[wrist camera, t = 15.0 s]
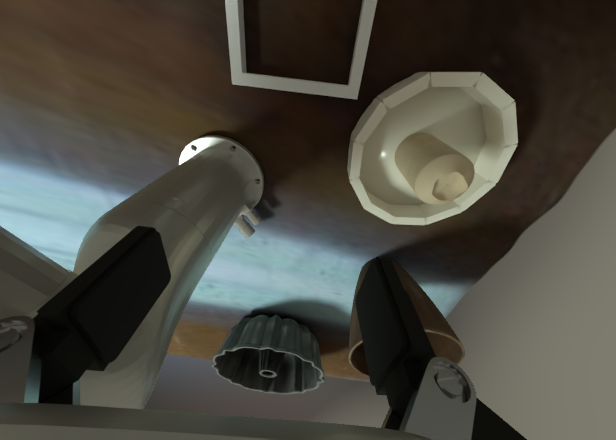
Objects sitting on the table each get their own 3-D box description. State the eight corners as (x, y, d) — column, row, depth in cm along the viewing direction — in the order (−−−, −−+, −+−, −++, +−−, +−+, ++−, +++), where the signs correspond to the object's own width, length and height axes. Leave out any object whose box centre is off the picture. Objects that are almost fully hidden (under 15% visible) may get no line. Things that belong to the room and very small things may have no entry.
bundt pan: (295, 363, 69) (291, 403, 61) (215, 337, 63) (199, 377, 55) (344, 327, 55) (347, 372, 47) (248, 288, 49) (232, 332, 41)
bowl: (499, 176, 31) (521, 191, 27) (375, 224, 37) (380, 241, 33) (481, 32, 22) (510, 25, 19) (325, 125, 28) (325, 133, 25)
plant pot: (399, 228, 37) (439, 316, 24) (433, 277, 43) (481, 369, 30) (327, 263, 43) (327, 349, 30) (366, 302, 49) (381, 388, 36)
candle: (401, 129, 27) (433, 156, 19) (445, 133, 27) (496, 162, 19) (388, 171, 31) (411, 209, 22) (428, 175, 31) (465, 214, 22)
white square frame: (394, -98, 18) (400, -113, 17) (355, 97, 27) (357, 99, 25) (222, -119, 18) (213, -136, 17) (237, 83, 27) (232, 84, 25)
